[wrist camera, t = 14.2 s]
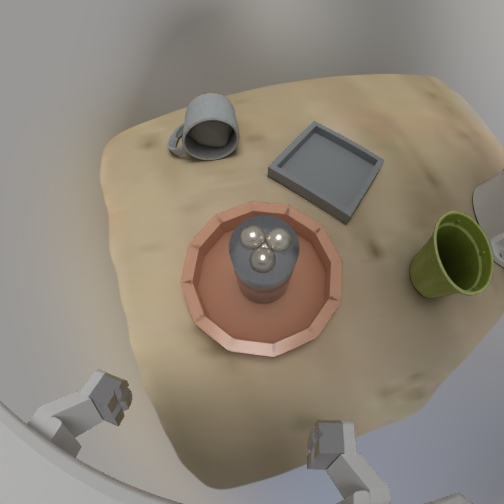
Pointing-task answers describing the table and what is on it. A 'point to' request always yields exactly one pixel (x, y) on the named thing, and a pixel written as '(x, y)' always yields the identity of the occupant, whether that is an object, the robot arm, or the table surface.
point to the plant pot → (453, 258)
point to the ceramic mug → (207, 128)
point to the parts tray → (326, 170)
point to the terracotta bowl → (253, 314)
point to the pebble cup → (263, 257)
